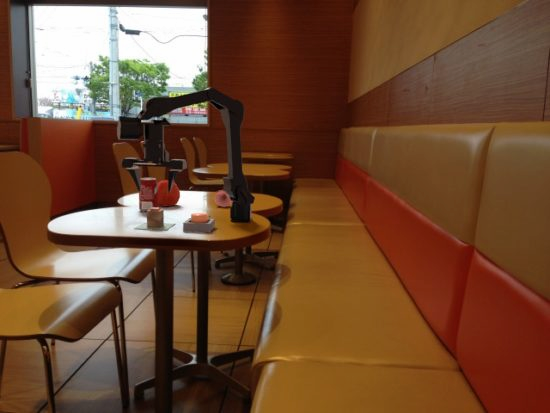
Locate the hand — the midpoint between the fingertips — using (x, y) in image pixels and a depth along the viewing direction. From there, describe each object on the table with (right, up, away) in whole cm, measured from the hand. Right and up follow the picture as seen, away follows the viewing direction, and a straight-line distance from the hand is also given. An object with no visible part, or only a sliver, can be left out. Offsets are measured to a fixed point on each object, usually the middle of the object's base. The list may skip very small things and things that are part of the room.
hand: (154, 191), depth 138 cm
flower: (+16, -5, +44) cm, 47 cm away
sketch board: (0, -11, +2) cm, 11 cm away
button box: (+14, -11, 0) cm, 18 cm away
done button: (+14, -10, 0) cm, 17 cm away
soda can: (-10, -6, +29) cm, 31 cm away
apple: (-6, -4, +42) cm, 42 cm away
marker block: (0, -11, +2) cm, 11 cm away
